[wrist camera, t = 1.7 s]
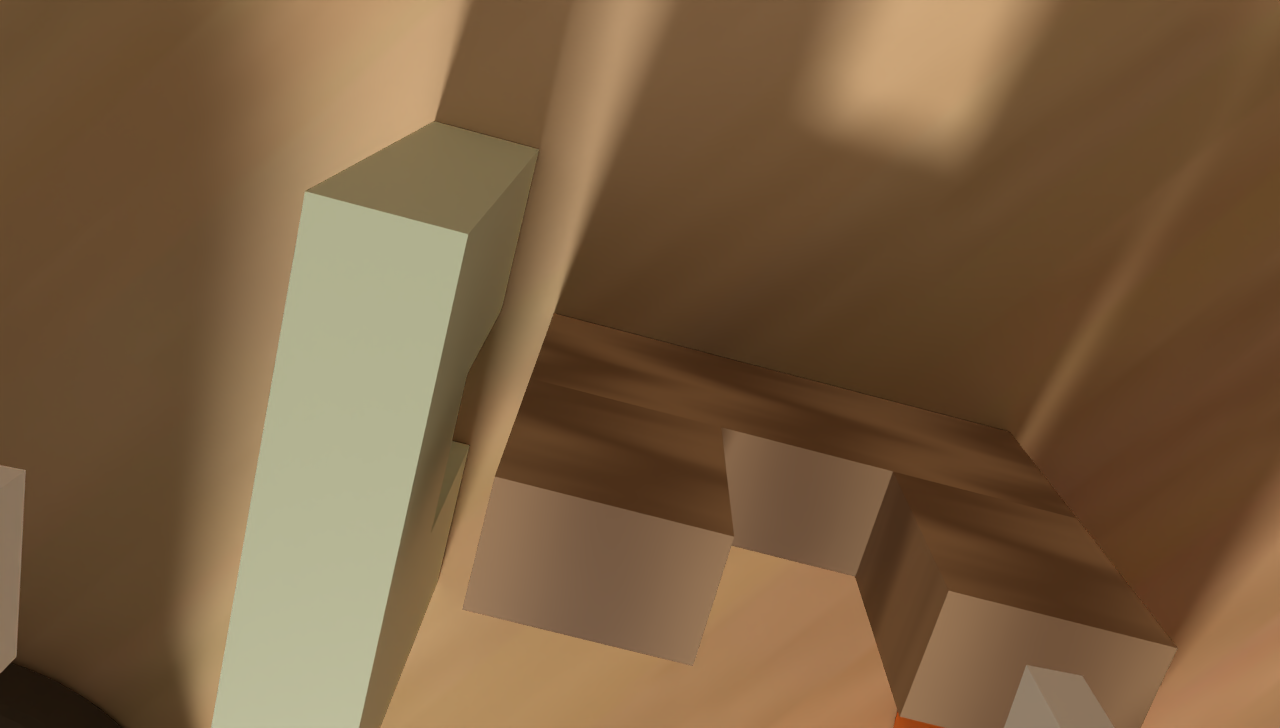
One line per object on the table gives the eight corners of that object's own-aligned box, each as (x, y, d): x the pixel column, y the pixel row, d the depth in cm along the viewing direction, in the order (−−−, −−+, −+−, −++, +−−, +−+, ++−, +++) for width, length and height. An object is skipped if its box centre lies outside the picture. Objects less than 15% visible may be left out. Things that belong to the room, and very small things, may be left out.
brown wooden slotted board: (530, 406, 35) (462, 609, 23) (553, 313, 34) (494, 476, 22) (975, 520, 36) (1120, 770, 24) (1009, 431, 35) (1177, 648, 23)
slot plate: (437, 582, 37) (331, 849, 25) (343, 559, 36) (195, 817, 25) (539, 149, 32) (468, 234, 21) (434, 121, 32) (305, 191, 21)
